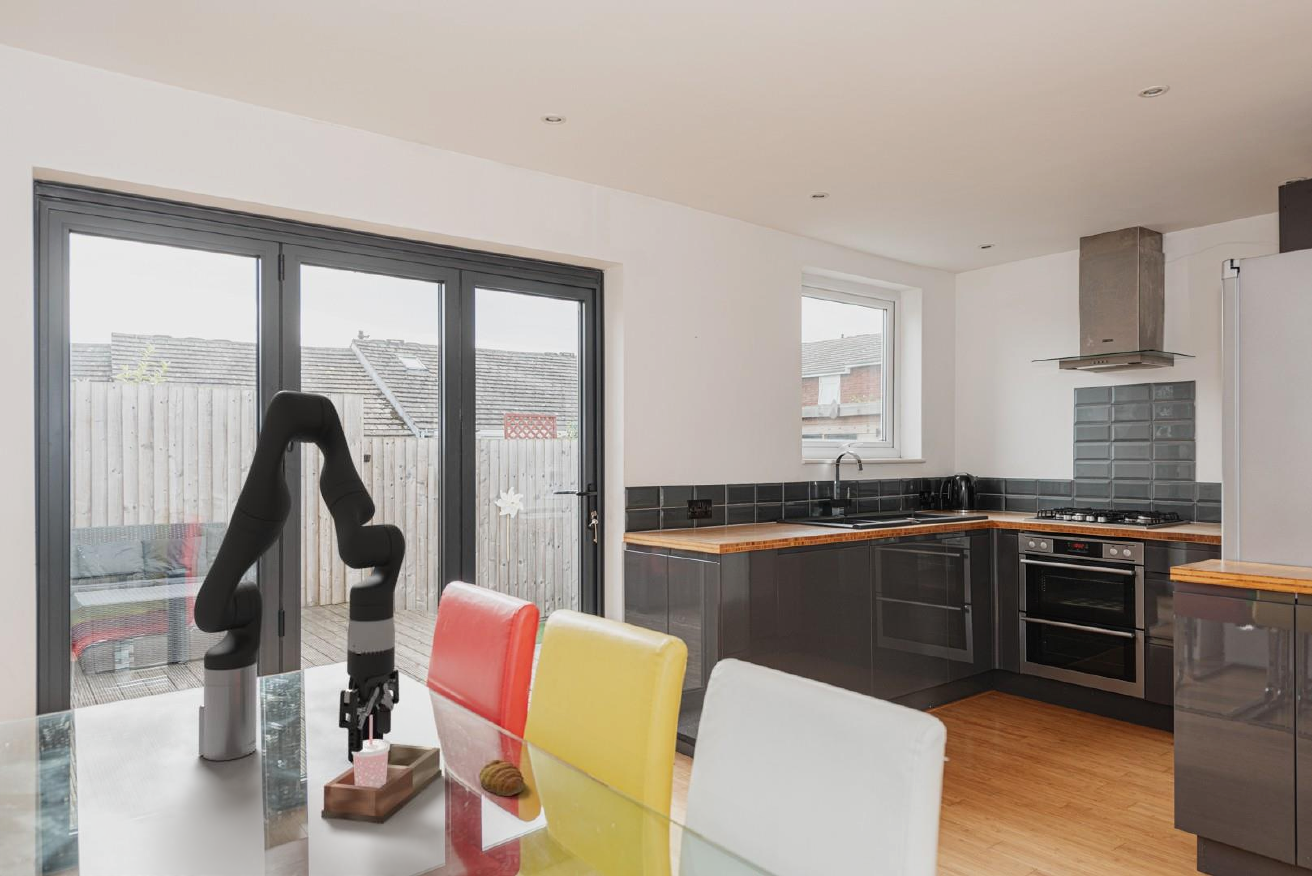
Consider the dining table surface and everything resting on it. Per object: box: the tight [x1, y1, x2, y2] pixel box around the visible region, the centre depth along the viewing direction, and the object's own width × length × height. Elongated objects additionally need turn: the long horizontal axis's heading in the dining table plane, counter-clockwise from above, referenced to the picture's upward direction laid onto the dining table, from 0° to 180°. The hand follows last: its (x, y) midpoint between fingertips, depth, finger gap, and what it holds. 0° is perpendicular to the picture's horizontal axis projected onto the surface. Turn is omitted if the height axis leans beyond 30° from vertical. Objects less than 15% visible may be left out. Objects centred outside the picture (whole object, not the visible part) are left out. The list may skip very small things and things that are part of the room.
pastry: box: [478, 759, 526, 797], centre depth 146 cm, size 9×7×4 cm
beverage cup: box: [352, 715, 391, 788], centre depth 138 cm, size 6×6×14 cm
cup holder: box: [320, 743, 443, 825], centre depth 143 cm, size 11×20×5 cm, turn 168°
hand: (370, 741), depth 138 cm, fingers open, 8 cm apart
